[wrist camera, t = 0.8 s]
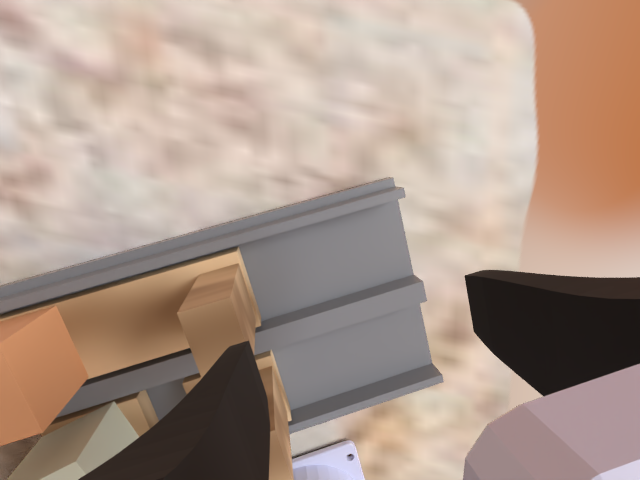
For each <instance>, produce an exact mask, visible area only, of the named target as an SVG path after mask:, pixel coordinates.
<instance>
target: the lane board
mask: <svg viewBox="0 0 640 480" xmlns="http://www.w3.org/2000/svg"><path fill="white" fill-rule="evenodd" d="M404 197H406V196H405V191H404V188H402V187H395V184H394V179H393V178H392V177H389V178H385V179H382V180H378V181H374V182H371V183H367V184H364V185H360V186H356V187H353V188H349V189H346V190H342V191H339V192H335V193H331V194H328V195H324V196H321V197H317V198H313V199H310V200H306V201H303V202H299V203H296V204H292V205H288V206H285V207H281V208H278V209H274V210H270V211H267V212H263V213H260V214H256V215H252V216H249V217H245V218H242V219H238V220H235V221H231V222H227V223H224V224H220V225H217V226H213V227H209V228H206V229H202V230H199V231H195V232H191V233H188V234H184V235H181V236H177V237H174V238H170V239H166V240H163V241H159V242H156V243H152V244H148V245H145V246H141V247H138V248H134V249H131V250H127V251H123V252H120V253H116V254H113V255H109V256H105V257H102V258H98V259H95V260H91V261H87V262H84V263H80V264H77V265H73V266H70V267H66V268H62V269H59V270H55V271H52V272H48V273H44V274H41V275H37V276H34V277H30V278H27V279H23V280H19V281H16V282H12V283H9V284H5V285H1V286H0V314H3V313H7V312H10V311H14V310H17V309H21V308H24V307H28V306H31V305H35V304H38V303H42V302H45V301H49V300H52V299H56V298H59V297H63V296H66V295H70V294H73V293H77V292H80V291H84V290H87V289H91V288H94V287H98V286H101V285H105V284H108V283H112V282H115V281H119V280H122V279H126V278H129V277H133V276H136V275H140V274H143V273H147V272H150V271H154V270H157V269H161V268H164V267H168V266H171V265H175V264H178V263H182V262H185V261H189V260H192V259H196V258H199V257H203V256H206V255H210V254H213V253H217V252H220V251H224V250H227V249H231V248H234V247H238V246H239V249H240V252H241V256H242V259H243V262H244V265H245V268H246V271H247V274H248V277H249V280H250V284H251V287H252V290H253V293H254V296H255V299H256V302H257V305H258V308H259V312H260V315H261V326H259V327H256V328H255V348H254V355H257V354H260V353H263V352H267V351H270V350H272V352H273V355H274V358H275V361H276V364H277V368H278V371H279V374H280V377H281V380H282V383H283V386H284V389H285V392H286V396H287V399H288V402H289V405H290V410H291V419H292V420H291V421H288V426H289V434H291V433H294V432H297V431H300V430H303V429H306V428H309V427H312V426H315V425H318V424H321V423H324V422H327V421H330V420H333V419H335V418H338V417H341V416H344V415H347V414H350V413H353V412H356V411H359V410H362V409H365V408H368V407H371V406H374V405H377V404H380V403H383V402H386V401H389V400H392V399H395V398H398V397H400V396H403V395H406V394H409V393H412V392H415V391H418V390H421V389H424V388H427V387H430V386H433V385H436V384H439V383H442V382H443V377H442V374H441V373H440V372H439V371H438V369H437V368H436V367H435V366H434V365H433V364H432V360H431V355H430V350H429V346H428V341H427V336H426V331H425V327H424V322H423V317H422V312H421V307H420V303H422V302H425V301H427V299H426V294H425V289H424V284H423V281H422V280H420V279H419V278H418V277H416V276H415V275H414V274H413V269H412V265H411V260H410V255H409V250H408V246H407V241H406V236H405V231H404V227H403V222H402V217H401V212H400V208H399V203H398V199H401V198H404ZM197 373H199V370H198V367H197V365H196V362H195V359H194V357H193V354H192V352H191V349H190V348H188V349H184V350H181V351H178V352H175V353H171V354H168V355H165V356H162V357H158V358H155V359H152V360H149V361H145V362H142V363H139V364H136V365H132V366H129V367H126V368H123V369H119V370H116V371H113V372H110V373H106V374H103V375H100V376H97V377H93V378H90V379H87V380H86V381H85V382H84V384H83V385H82V386H81V387H80V388H79V390H78V391H77V392H76V393H75V395H74V396H73V397H72V398H71V399H70V401H69V402H68V403H67V404H66V405H65V407H64V408H63V409H62V410H61V412H60V413H59V414H58V415H57V416H56V418H57V417H60V416H63V415H67V414H70V413H73V412H76V411H79V410H83V409H86V408H89V407H92V406H95V405H98V404H102V403H105V402H108V401H111V400H114V399H117V398H121V397H124V396H127V395H130V394H133V393H137V392H140V391H143V390H146V391H147V394H148V396H149V398H150V401H151V403H152V406H153V408H154V410H155V413H156V415H157V417H158V420H159V421H160V420H161V419H162V418H163V417H164V416H165V415H167V414H168V413H169V412H170V411H171V410H172V409H173V408H174V407H175V406H176V405H177V404H178V403H179V402H180V401H181V400H182V399H183V398H184V397H185V396H186V395H187V394H186V392H185V389H184V387H183V384H182V383H183V380H184V378H185V377H187V376H190V375H194V374H197Z"/></svg>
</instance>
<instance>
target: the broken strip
mask: <svg viewBox="0 0 640 480" xmlns="http://www.w3.org/2000/svg"><path fill="white" fill-rule="evenodd" d="M254 357H255V360H256V363H257V367H258V370H259V373H260V376H261V379H262V382H263V385H264V388H265V391H266V395H267V399H268V408H269V417H270V459H269V480H294V477H293V467H292V457H291V447H290V437H289V426H288V421H291V420H292V419H291V410H290V405H289V402H288V399H287V396H286V392H285V389H284V386H283V383H282V380H281V377H280V374H279V371H278V368H277V364H276V361H275V358H274V355H273V352H272V350H270V351H267V352H263V353H260V354H257V355H254ZM201 379H202V378H201V375H200V373H197V374H194V375H190V376H187V377H185V378H184V380H183V383H182V384H183V387H184V389H185V392H186V394H188V393H189V392H190V391H191V390H192V388H193V387H194V386H195V385H196V384H197V383H198V382H199V381H200V380H201ZM113 401H114V402H115V403H116V405H117V406H118V407H119V409H120V410H121V412H122V413H123V414H124V416H125V417H126V419H127V420H128V422H129V423H130V424H131V426H132V427H133V429H134V430H135V431H136V433H137V434H138V436H139V437H140V436H141V435H143V434H144V433H145V432H147V431H148V430H149V429H150V428H152V427H153V426H154V425H155V424H156V423H158V422H159V420H158V417H157V415H156V413H155V410H154V408H153V406H152V403H151V401H150V398H149V396H148V394H147V391H146V390H143V391H140V392H137V393H133V394H130V395H127V396H124V397H121V398H117V399H114V400H111V401H108V402H105V403H102V404H98V405H95V406H92V407H89V408H86V409H83V410H79V411H76V412H73V413H70V414H67V415H63V416H60V417H57V418H55V419H54V420H53V421H52V422H51V424H50V425H49V426H48V427H47V429H46V430H45V431H44V432H43V433H40V435H41V437H43V436H45V435H47V434H49V433H51V432H53V431H55V430H57V429H59V428H61V427H63V426H65V425H67V424H69V423H71V422H73V421H75V420H77V419H79V418H81V417H83V416H85V415H87V414H89V413H91V412H93V411H95V410H97V409H99V408H101V407H103V406H105V405H107V404H109V403H111V402H113Z"/></svg>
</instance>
